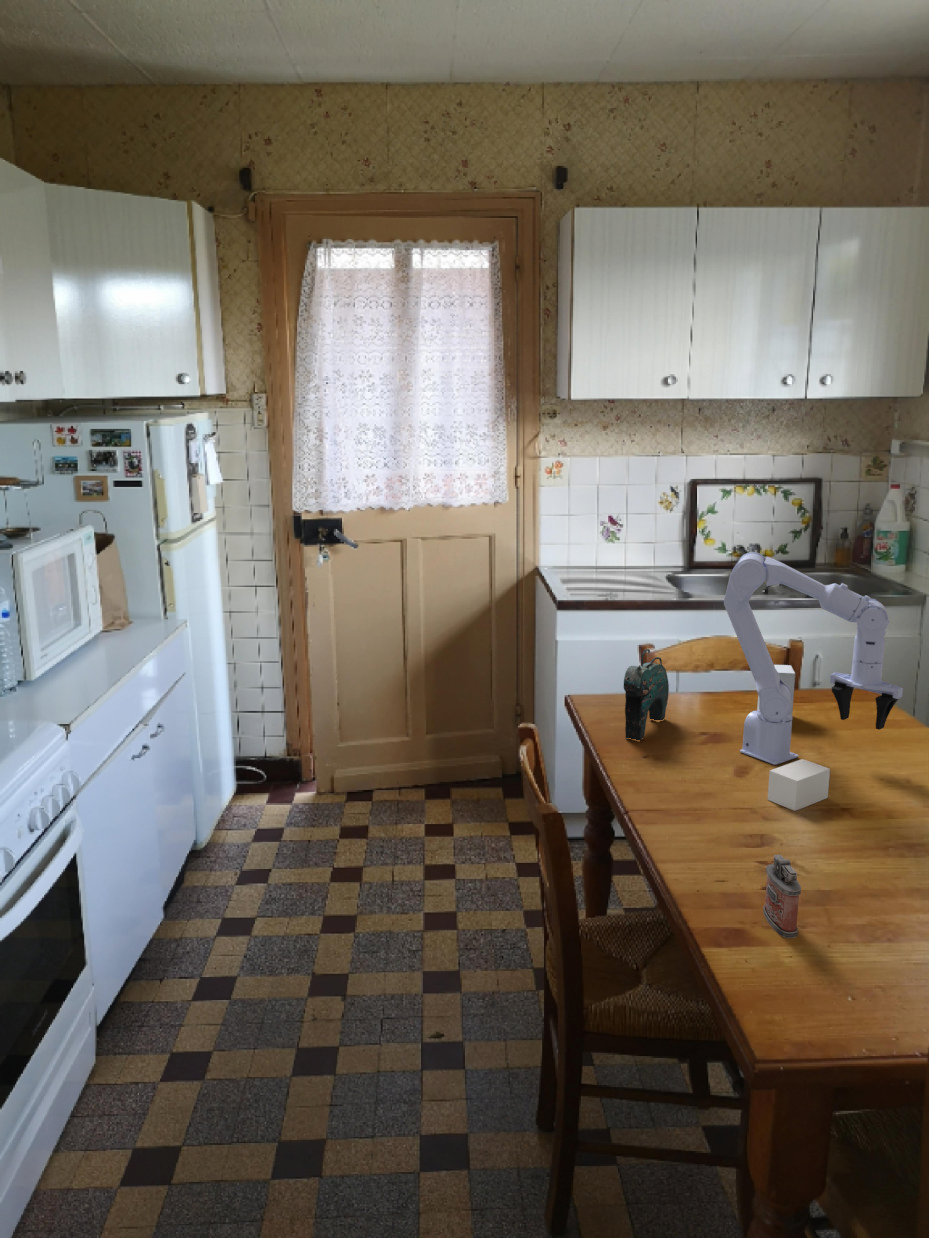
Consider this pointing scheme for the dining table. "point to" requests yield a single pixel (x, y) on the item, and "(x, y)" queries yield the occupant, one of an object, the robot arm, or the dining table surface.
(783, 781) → the white cardboard carton
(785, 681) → the supplement box
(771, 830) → the dining table surface
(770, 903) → the lighter
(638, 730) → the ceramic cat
